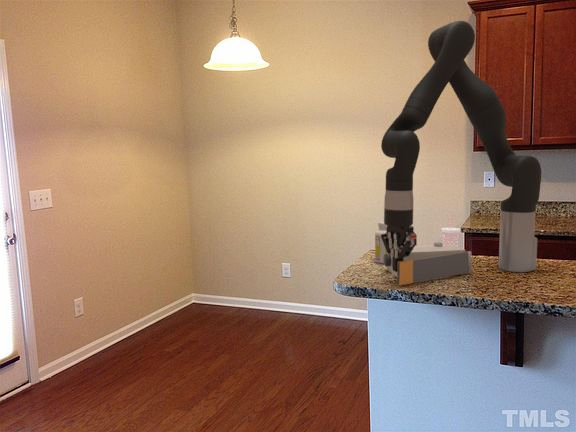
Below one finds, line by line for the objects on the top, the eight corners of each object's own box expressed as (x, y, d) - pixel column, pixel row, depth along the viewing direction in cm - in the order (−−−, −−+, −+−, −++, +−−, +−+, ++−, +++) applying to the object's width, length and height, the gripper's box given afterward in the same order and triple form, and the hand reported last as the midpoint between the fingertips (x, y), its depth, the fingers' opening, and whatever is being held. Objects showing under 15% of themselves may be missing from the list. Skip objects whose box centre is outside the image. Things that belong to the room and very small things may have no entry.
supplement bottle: (399, 261, 162) (399, 221, 160) (391, 265, 157) (392, 224, 155) (379, 259, 166) (379, 220, 164) (371, 263, 160) (371, 223, 158)
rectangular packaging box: (450, 266, 153) (451, 241, 152) (464, 273, 144) (465, 247, 143) (383, 270, 150) (383, 244, 149) (393, 277, 141) (393, 250, 140)
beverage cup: (442, 252, 173) (443, 212, 171) (460, 254, 170) (461, 213, 168) (439, 256, 167) (440, 214, 166) (458, 257, 165) (459, 215, 163)
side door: (468, 271, 144) (469, 250, 144) (471, 272, 143) (472, 251, 143) (396, 284, 133) (397, 261, 132) (399, 285, 132) (400, 262, 131)
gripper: (426, 209, 129) (424, 275, 131) (395, 204, 141) (394, 264, 143) (402, 210, 126) (401, 278, 128) (372, 205, 137) (371, 267, 140)
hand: (397, 271), depth 135 cm, fingers closed
